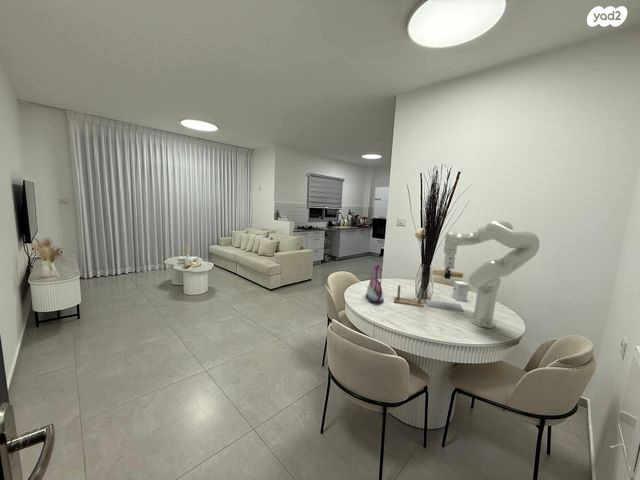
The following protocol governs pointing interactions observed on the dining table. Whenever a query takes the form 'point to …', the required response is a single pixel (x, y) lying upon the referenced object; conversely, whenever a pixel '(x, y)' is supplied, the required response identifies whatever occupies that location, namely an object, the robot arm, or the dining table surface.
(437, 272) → the oak rail
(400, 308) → the dining table surface
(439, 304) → the slate mat
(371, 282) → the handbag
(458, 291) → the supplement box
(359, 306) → the dining table surface
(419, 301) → the hook stand
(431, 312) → the dining table surface
